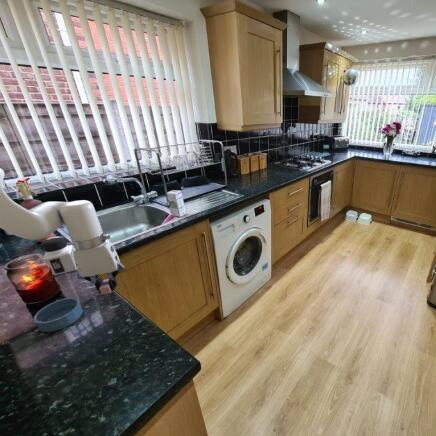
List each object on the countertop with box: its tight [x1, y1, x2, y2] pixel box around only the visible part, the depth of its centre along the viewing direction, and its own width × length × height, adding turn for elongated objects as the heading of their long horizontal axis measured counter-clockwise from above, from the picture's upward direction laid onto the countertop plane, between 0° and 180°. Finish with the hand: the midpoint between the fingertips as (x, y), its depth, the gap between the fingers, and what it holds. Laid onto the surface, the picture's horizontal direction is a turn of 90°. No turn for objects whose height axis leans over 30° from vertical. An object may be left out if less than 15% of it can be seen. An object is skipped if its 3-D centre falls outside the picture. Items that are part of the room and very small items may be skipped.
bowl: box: [33, 297, 84, 333], centre depth 71 cm, size 10×10×4 cm
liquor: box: [16, 182, 57, 243], centre depth 111 cm, size 7×7×28 cm
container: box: [40, 236, 78, 277], centre depth 93 cm, size 8×8×13 cm
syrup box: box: [166, 189, 186, 218], centre depth 143 cm, size 6×6×14 cm
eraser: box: [99, 278, 112, 296], centre depth 81 cm, size 5×3×3 cm, turn 22°
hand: (108, 289), depth 81 cm, fingers closed on eraser, 2 cm apart
